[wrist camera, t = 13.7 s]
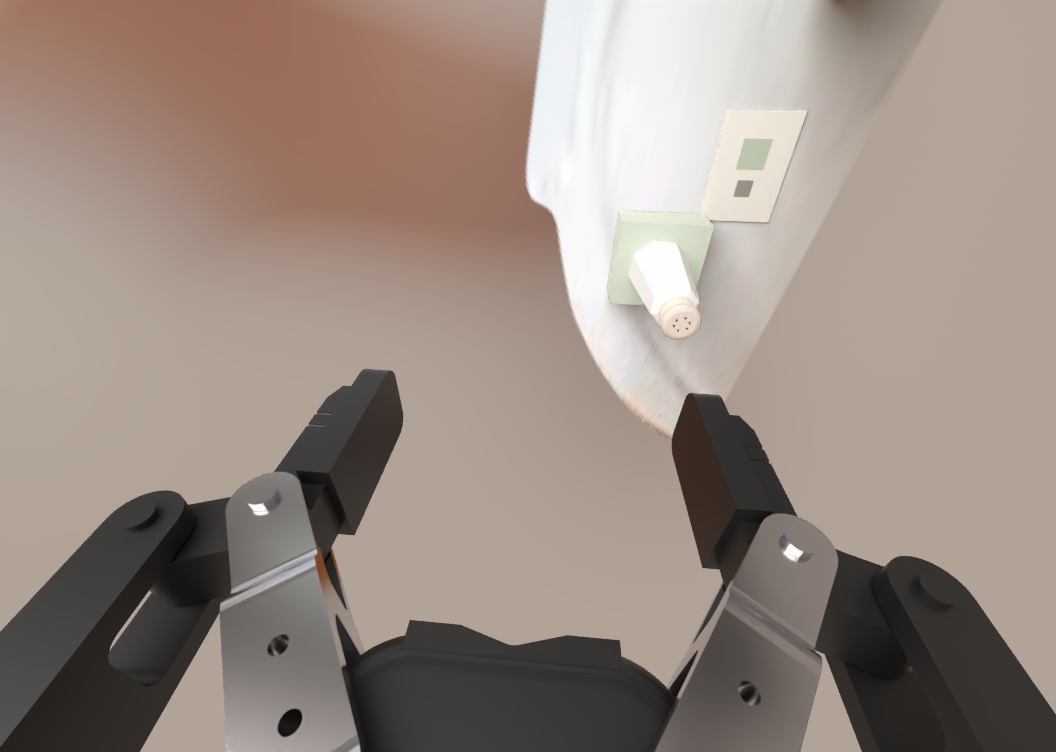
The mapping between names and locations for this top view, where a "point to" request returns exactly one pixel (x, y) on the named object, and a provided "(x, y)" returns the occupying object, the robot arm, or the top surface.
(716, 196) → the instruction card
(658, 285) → the pepper shaker
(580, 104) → the top surface
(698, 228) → the brick
